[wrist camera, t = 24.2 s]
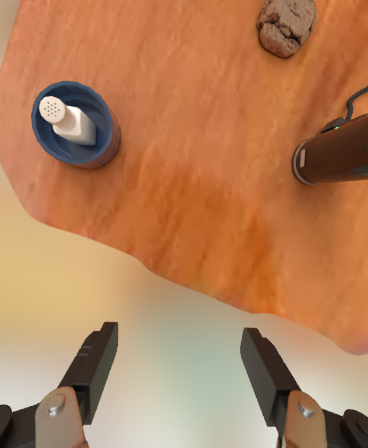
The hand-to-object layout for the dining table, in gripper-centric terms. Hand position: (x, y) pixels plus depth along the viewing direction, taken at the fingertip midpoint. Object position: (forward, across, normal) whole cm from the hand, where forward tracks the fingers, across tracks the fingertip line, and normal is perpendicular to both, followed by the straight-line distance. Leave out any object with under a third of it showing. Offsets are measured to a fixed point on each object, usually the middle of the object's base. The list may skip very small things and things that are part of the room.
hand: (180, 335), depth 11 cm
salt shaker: (+27, +18, -17) cm, 36 cm away
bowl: (+27, +18, -17) cm, 37 cm away
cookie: (+30, -17, -39) cm, 52 cm away
